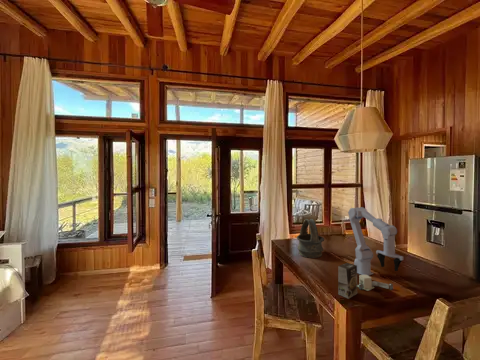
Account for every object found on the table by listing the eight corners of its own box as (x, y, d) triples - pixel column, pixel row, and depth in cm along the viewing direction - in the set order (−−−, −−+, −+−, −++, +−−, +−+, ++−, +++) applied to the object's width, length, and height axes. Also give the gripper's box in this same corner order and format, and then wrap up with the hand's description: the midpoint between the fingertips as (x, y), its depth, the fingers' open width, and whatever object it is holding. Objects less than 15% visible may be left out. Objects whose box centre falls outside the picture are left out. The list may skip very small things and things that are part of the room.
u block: (364, 288, 139) (364, 278, 139) (359, 284, 144) (359, 275, 144) (371, 288, 140) (371, 277, 140) (366, 284, 145) (366, 274, 145)
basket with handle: (296, 258, 193) (296, 221, 192) (297, 249, 215) (296, 216, 215) (325, 260, 187) (325, 221, 187) (322, 250, 210) (322, 216, 209)
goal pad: (356, 286, 143) (356, 285, 143) (363, 283, 147) (363, 282, 147) (367, 291, 137) (367, 290, 137) (374, 287, 141) (374, 287, 141)
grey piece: (355, 285, 144) (355, 280, 144) (388, 285, 143) (388, 280, 143) (359, 289, 139) (359, 284, 139) (393, 290, 138) (393, 284, 138)
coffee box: (348, 299, 129) (348, 269, 129) (337, 294, 134) (337, 265, 134) (357, 293, 134) (357, 265, 134) (346, 289, 139) (346, 262, 139)
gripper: (406, 247, 139) (406, 271, 139) (380, 242, 152) (380, 263, 152) (399, 250, 135) (400, 274, 136) (374, 244, 148) (374, 265, 148)
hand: (389, 268), depth 144 cm, fingers open, 7 cm apart
